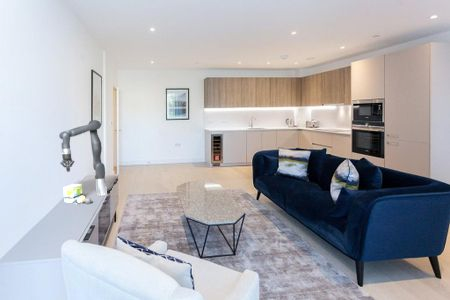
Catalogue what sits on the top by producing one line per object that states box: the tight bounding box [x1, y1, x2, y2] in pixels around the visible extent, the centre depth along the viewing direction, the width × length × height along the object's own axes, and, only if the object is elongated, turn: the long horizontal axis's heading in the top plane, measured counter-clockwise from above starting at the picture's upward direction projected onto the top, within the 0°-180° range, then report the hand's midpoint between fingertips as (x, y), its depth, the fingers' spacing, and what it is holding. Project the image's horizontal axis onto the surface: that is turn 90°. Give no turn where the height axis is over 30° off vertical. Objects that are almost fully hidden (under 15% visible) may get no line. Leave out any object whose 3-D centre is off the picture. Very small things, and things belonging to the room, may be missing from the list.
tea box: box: [63, 183, 84, 203], centre depth 343 cm, size 15×10×15 cm
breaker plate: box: [71, 199, 93, 206], centre depth 333 cm, size 14×11×2 cm
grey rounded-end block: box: [84, 197, 92, 205], centre depth 328 cm, size 5×5×5 cm
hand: (68, 171), depth 336 cm, fingers closed
